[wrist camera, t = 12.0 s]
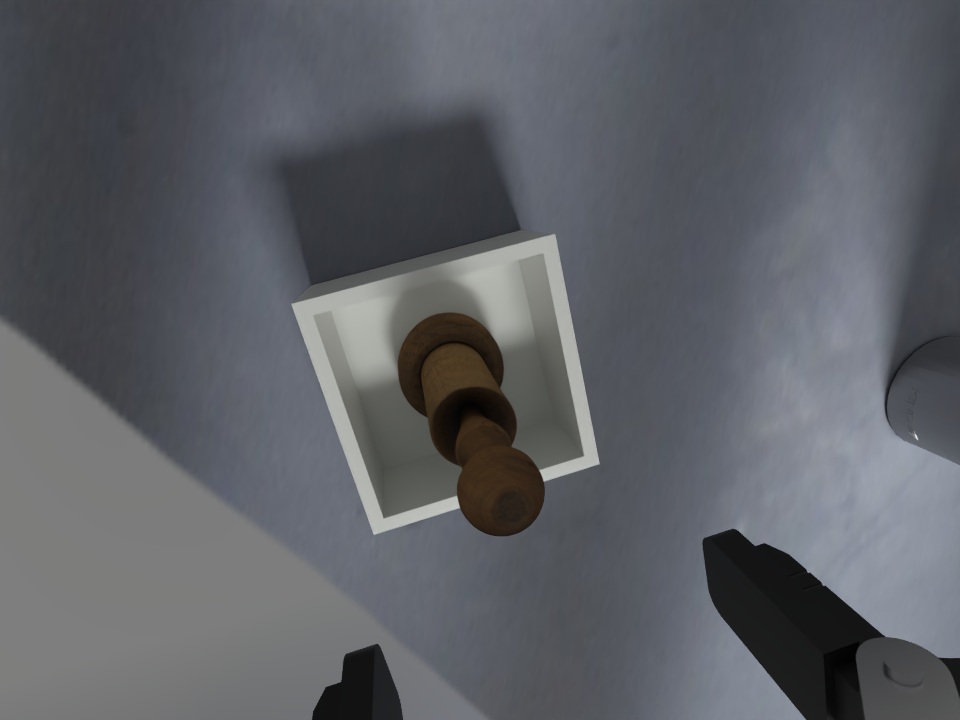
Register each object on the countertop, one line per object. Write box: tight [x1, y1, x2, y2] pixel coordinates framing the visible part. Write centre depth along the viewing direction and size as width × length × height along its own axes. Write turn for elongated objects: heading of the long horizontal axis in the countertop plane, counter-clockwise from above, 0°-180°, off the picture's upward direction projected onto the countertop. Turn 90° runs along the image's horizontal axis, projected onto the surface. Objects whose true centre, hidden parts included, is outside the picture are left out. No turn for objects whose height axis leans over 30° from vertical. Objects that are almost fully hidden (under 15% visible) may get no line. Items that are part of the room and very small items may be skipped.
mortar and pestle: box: [398, 312, 545, 536], centre depth 25 cm, size 7×6×18 cm
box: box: [292, 230, 599, 535], centre depth 32 cm, size 14×14×7 cm
